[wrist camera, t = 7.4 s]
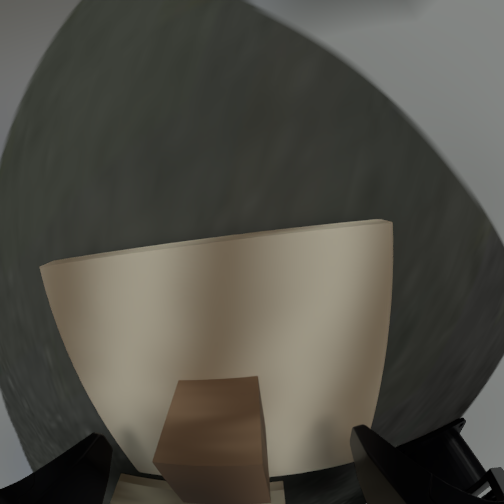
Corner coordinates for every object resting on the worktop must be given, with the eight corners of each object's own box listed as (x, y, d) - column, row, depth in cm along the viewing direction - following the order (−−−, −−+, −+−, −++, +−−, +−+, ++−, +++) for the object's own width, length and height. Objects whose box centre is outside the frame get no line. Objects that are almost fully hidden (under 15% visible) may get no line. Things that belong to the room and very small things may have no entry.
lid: (370, 216, 10) (477, 247, 4) (353, 438, 13) (380, 511, 7) (63, 256, 10) (-31, 301, 4) (145, 452, 13) (123, 520, 7)
